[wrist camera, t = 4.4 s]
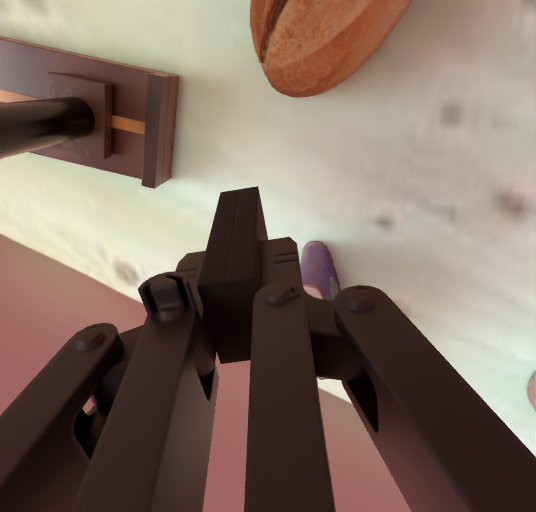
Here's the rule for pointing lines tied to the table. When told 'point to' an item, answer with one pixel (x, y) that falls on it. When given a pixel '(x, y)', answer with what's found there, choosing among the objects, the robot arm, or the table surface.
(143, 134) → the rail
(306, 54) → the bread roll
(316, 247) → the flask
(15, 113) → the tap
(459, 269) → the table surface
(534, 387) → the travel mug
